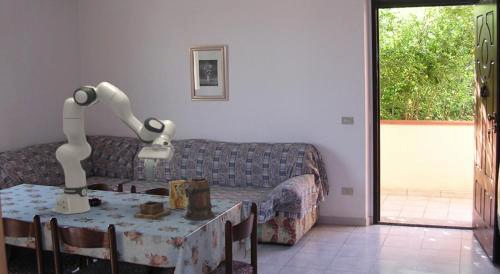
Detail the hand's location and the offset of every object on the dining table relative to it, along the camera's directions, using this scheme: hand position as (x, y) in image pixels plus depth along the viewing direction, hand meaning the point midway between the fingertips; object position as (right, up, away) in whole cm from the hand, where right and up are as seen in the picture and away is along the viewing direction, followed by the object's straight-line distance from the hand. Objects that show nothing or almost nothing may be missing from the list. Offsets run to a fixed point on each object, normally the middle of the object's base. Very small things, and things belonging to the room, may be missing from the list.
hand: (149, 166), depth 295 cm
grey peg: (0, -7, +1) cm, 7 cm away
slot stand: (+1, -26, +3) cm, 27 cm away
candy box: (+13, -25, +19) cm, 34 cm away
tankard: (+26, -27, -6) cm, 38 cm away
